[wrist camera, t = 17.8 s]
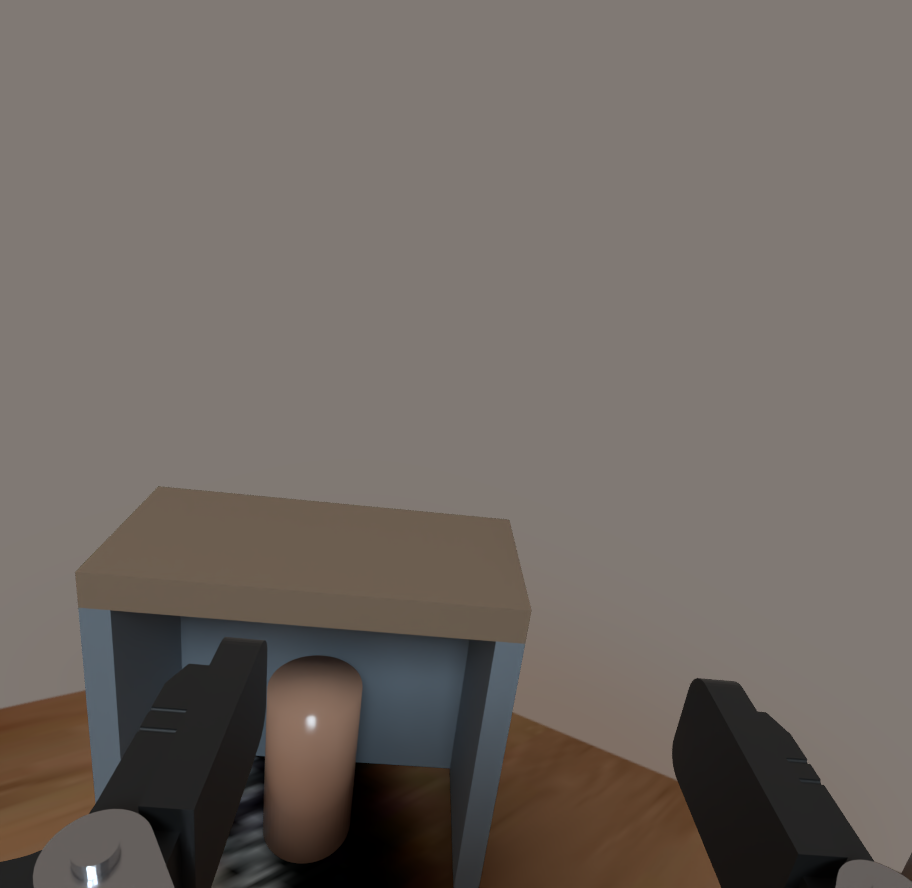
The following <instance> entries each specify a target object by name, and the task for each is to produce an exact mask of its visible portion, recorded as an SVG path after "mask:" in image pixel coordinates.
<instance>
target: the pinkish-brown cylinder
mask: <svg viewBox="0 0 912 888" xmlns="http://www.w3.org/2000/svg"><path fill="white" fill-rule="evenodd" d="M362 687H363V685H362V679H361V677H360V675H359V673H358V672H357V671H356V669H355V668H354V667H353V666H351V665H350V664H348V663H347V662H345V661H343V660H340V659H338V658H334V657H330V656H321V655H314V656H305V657H301V658H297V659H294V660H292V661H289V662H287V663H286V664H284V665H282V666H281V667H280V668H278V669H277V670H276V671H275V672H274V673H273V675H272V676H271V678H270V680H269V682H268V686H267V713H266V745H265V778H264V810H263V836H264V840H265V842H266V844H267V846H268V847H269V849H270V850H271V851H272V852H273V853H274V854H275V855H276V856H278V857H279V858H281V859H283V860H286V861H288V862H292V863H311V862H315V861H319V860H321V859H324V858H326V857H327V856H329V855H331V854H332V853H333V852H335V851H336V850H337V849H338V848H339V847H340V846H341V845H342V843H343V842H344V840H345V838H346V836H347V834H348V831H349V827H350V818H351V807H352V796H353V785H354V775H355V764H356V753H357V742H358V731H359V720H360V710H361V699H362Z"/></svg>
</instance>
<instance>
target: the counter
mask: <svg viewBox="0 0 912 888" xmlns="http://www.w3.org/2000/svg"><path fill="white" fill-rule="evenodd" d="M75 574H76V575H75V576H76V587H77V597H78V609H79V621H80V632H81V643H82V654H83V666H84V676H85V688H86V700H87V711H88V722H89V733H90V745H91V756H92V767H93V779H94V790H95V801H96V802H97V800H98V799H99V797H100V795H101V793H102V792H103V790H104V788H105V787H106V785H107V783H108V781H109V780H110V778H111V776H112V774H113V773H114V771H115V769H116V767H117V766H118V764H119V762H120V761H121V759H122V757H123V755H124V754H125V752H126V750H127V748H128V747H129V745H130V743H131V741H132V740H133V738H134V736H135V734H136V733H137V731H139V730H140V726H141V724H142V722H143V721H144V719H145V717H146V715H147V714H148V712H149V711H151V708H152V705H153V703H154V702H155V700H156V698H157V696H158V695H159V693H160V691H161V689H162V688H163V686H164V684H165V683H166V682H167V681H168V680H169V679H171V678H172V677H173V676H174V675H176V674H177V673H178V672H179V671H180V670H182V669H183V668H184V667H185V666H187V665H188V664H199V665H210V663H211V661H212V659H213V657H214V655H215V653H216V651H217V649H218V647H219V645H220V643H221V641H222V639H223V638H224V637H233V638H244V639H256V640H266V642H267V686H268V682H269V680H270V678H271V676H272V675H273V673H274V672H275V671H276V670H277V669H278V668H280V667H281V666H282V665H284V664H286V663H287V662H289V661H292V660H294V659H297V658H301V657H305V656H314V655H321V656H330V657H334V658H338V659H340V660H343V661H345V662H347V663H348V664H350V665H351V666H353V667H354V668H355V669H356V671H357V672H358V673H359V675H360V677H361V679H362V685H363V687H362V699H361V710H360V720H359V731H358V742H357V753H356V762H361V763H376V764H391V765H406V766H421V767H436V768H450V793H451V825H452V858H453V888H479V884H480V879H481V874H482V868H483V863H484V858H485V853H486V847H487V842H488V837H489V832H490V826H491V821H492V816H493V811H494V805H495V800H496V795H497V789H498V784H499V779H500V774H501V768H502V763H503V758H504V753H505V747H506V742H507V737H508V731H509V726H510V721H511V716H512V710H513V705H514V700H515V695H516V689H517V684H518V679H519V674H520V668H521V662H522V658H523V652H524V647H525V642H526V637H527V631H528V626H529V621H530V615H531V607H530V603H529V599H528V595H527V591H526V587H525V583H524V578H523V574H522V570H521V566H520V562H519V558H518V554H517V550H516V546H515V542H514V537H513V533H512V529H511V525H510V521H509V520H507V519H496V518H486V517H475V516H464V515H454V514H443V513H433V512H423V511H411V510H401V509H390V508H380V507H370V506H359V505H349V504H338V503H328V502H317V501H306V500H296V499H286V498H275V497H265V496H254V495H243V494H233V493H223V492H212V491H202V490H191V489H180V488H170V487H160V486H158V487H157V489H156V490H155V491H154V492H153V493H152V494H151V495H150V496H149V497H148V498H147V499H146V500H145V501H144V502H143V503H142V504H141V505H140V506H139V507H138V508H137V509H136V510H135V511H134V512H133V513H132V514H131V515H130V516H129V517H128V518H127V519H126V520H125V521H124V522H123V523H122V524H121V525H120V527H119V528H118V529H117V530H116V531H115V532H114V533H113V534H112V535H111V536H110V537H109V538H108V539H107V540H106V541H105V542H104V543H103V544H102V545H101V546H100V547H99V548H98V549H97V550H96V551H95V552H94V553H93V554H92V555H91V556H90V557H89V558H88V559H87V560H86V561H85V562H84V563H83V565H81V566H80V568H79V569H78V570H77V571H76V572H75ZM266 713H267V689H266ZM266 713H265V721H264V727H263V732H262V736H261V740H260V743H259V746H258V749H257V752H256V755H255V756H265V745H266Z"/></svg>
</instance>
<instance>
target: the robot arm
mask: <svg viewBox="0 0 912 888" xmlns="http://www.w3.org/2000/svg"><path fill="white" fill-rule="evenodd" d="M266 689H267V642H266V640H256V639H244V638H233V637H224V638H223V639H222V641H221V643H220V645H219V647H218V649H217V651H216V653H215V655H214V657H213V659H212V661H211V663H210V665H199V664H188V665H187V666H185V667H184V668H183V669H182V670H180V671H179V672H178V673H177V674H176V675H174V676H173V677H172V678H171V679H169V680H168V681H167V682H166V683H165V684H164V686H163V688H162V689H161V691H160V693H159V695H158V696H157V698H156V700H155V702H154V703H153V705H152V708H151V711H149V712H148V714H147V715H146V717H145V719H144V721H143V722H142V724H141V726H140V730H139V731H137V733H136V734H135V736H134V738H133V740H132V741H131V743H130V745H129V747H128V748H127V750H126V752H125V754H124V755H123V757H122V759H121V761H120V762H119V764H118V766H117V767H116V769H115V771H114V773H113V774H112V776H111V778H110V780H109V781H108V783H107V785H106V787H105V788H104V790H103V792H102V793H101V795H100V797H99V799H98V800H97V802H96V804H95V806H94V807H93V809H92V810H91V812H90V813H89V814H88V815H85V816H83V817H81V818H79V819H77V820H75V821H73V822H72V823H70V824H69V825H67V826H66V827H64V828H63V829H62V830H60V831H59V832H58V833H57V834H56V835H55V836H54V837H53V838H52V839H51V840H50V841H49V842H48V843H47V845H46V846H45V847H44V848H43V850H41V851H38V852H36V853H33V854H31V855H28V856H24V857H20V858H17V859H12V860H8V861H3V862H0V888H211V886H212V883H213V880H214V877H215V874H216V871H217V868H218V865H219V862H220V859H221V856H222V853H223V850H224V847H225V844H226V841H227V838H228V835H229V832H230V829H231V827H232V824H233V821H234V818H235V815H236V812H237V809H238V806H239V803H240V800H241V797H242V794H243V791H244V788H245V785H246V782H247V779H248V776H249V773H250V770H251V767H252V764H253V761H254V758H255V755H256V752H257V749H258V746H259V743H260V740H261V736H262V732H263V727H264V721H265V713H266ZM672 759H673V767H674V771H675V775H676V778H677V780H678V783H679V785H680V788H681V790H682V793H683V795H684V797H685V800H686V802H687V805H688V807H689V810H690V812H691V815H692V817H693V819H694V822H695V824H696V827H697V829H698V832H699V834H700V837H701V839H702V841H703V844H704V846H705V849H706V851H707V854H708V856H709V859H710V861H711V863H712V866H713V868H714V871H715V873H716V876H717V878H718V880H719V883H720V885H721V888H912V854H911V856H910V858H909V860H908V862H907V863H906V865H905V868H904V870H903V871H902V873H901V874H900V873H898V872H896V871H895V870H893V869H891V868H889V867H887V866H884V865H882V864H879V863H876V862H874V860H873V859H872V857H871V856H870V854H869V853H868V851H867V850H866V848H865V847H864V845H863V844H862V842H861V841H860V839H859V837H858V836H857V834H856V833H855V831H854V830H853V829H852V827H851V826H850V824H849V823H848V821H847V819H846V818H845V816H844V815H843V813H842V812H841V810H840V809H839V807H838V806H837V804H836V803H835V801H834V800H833V798H832V797H831V795H830V793H829V792H828V790H827V789H826V787H825V786H824V785H821V783H820V778H819V777H818V775H817V774H816V772H815V771H814V769H813V768H812V766H811V765H810V764H807V758H806V757H805V755H804V754H803V753H802V751H801V750H800V748H799V747H798V745H797V743H796V742H795V740H794V739H793V737H792V736H791V734H790V733H788V732H787V731H786V730H785V729H784V728H783V727H782V726H781V725H779V724H778V723H777V722H776V721H775V720H774V719H773V718H772V717H770V716H769V715H768V714H767V713H766V712H757V711H756V709H755V707H754V706H753V704H752V702H751V701H750V699H749V698H748V696H747V695H746V693H745V691H744V690H743V688H742V687H741V685H740V684H739V683H737V682H734V681H723V680H712V679H699V678H697V679H694V680H693V681H692V683H691V685H690V687H689V690H688V694H687V697H686V700H685V703H684V707H683V710H682V714H681V717H680V720H679V724H678V727H677V730H676V733H675V737H674V741H673V749H672Z"/></svg>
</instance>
